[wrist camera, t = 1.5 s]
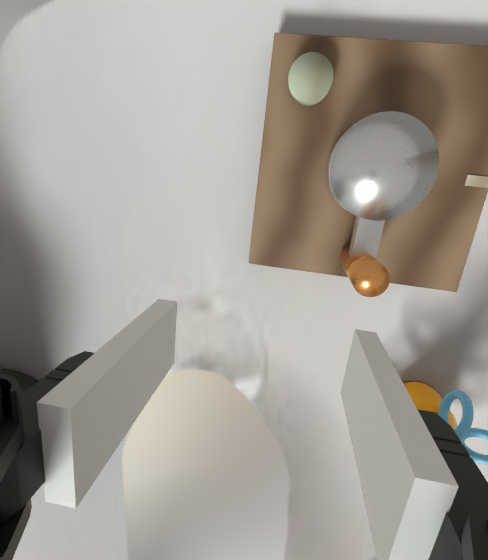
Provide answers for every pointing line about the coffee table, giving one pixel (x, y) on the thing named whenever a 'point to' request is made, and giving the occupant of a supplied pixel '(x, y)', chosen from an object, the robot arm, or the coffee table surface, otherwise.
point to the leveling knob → (379, 185)
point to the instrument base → (343, 115)
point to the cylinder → (448, 412)
